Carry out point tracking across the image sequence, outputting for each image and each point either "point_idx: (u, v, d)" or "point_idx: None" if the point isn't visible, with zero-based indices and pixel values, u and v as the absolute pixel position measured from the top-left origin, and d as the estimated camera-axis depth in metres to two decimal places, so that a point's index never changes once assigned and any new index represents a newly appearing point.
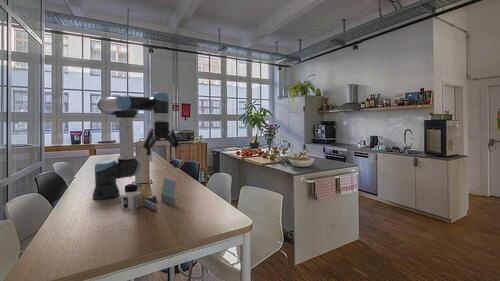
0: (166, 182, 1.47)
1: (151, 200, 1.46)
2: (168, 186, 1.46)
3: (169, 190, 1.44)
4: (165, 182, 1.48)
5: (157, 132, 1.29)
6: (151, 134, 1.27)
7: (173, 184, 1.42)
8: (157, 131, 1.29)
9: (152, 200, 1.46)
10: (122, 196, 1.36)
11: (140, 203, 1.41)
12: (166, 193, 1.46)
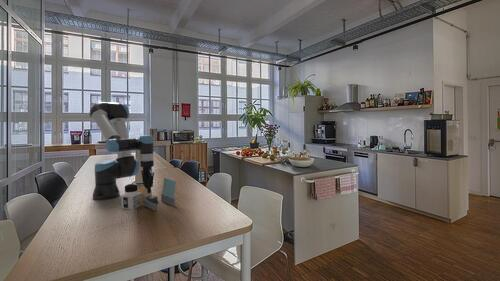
0: (166, 182, 1.47)
1: (152, 201, 1.45)
2: (168, 186, 1.46)
3: (169, 190, 1.44)
4: (165, 182, 1.48)
5: (143, 169, 1.50)
6: (142, 173, 1.52)
7: (173, 184, 1.42)
8: (143, 168, 1.51)
9: (153, 201, 1.45)
10: (122, 196, 1.36)
11: (140, 203, 1.41)
12: (166, 193, 1.46)
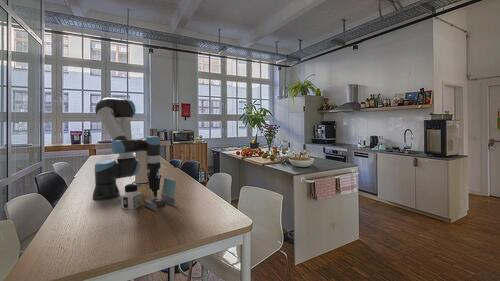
0: (166, 182, 1.47)
1: (158, 204, 1.39)
2: (168, 186, 1.46)
3: (169, 190, 1.44)
4: (165, 182, 1.48)
5: (149, 171, 1.45)
6: (148, 176, 1.46)
7: (173, 184, 1.42)
8: (149, 171, 1.45)
9: (159, 204, 1.40)
10: (122, 196, 1.36)
11: (140, 203, 1.41)
12: (166, 193, 1.46)
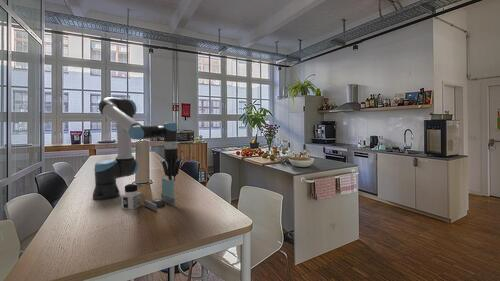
0: (164, 182, 1.47)
1: (158, 204, 1.39)
2: (166, 187, 1.45)
3: (168, 190, 1.44)
4: (163, 182, 1.47)
5: (167, 158, 1.43)
6: (165, 164, 1.42)
7: (171, 184, 1.41)
8: (167, 158, 1.43)
9: (159, 204, 1.40)
10: (122, 196, 1.36)
11: (140, 203, 1.41)
12: (166, 193, 1.46)
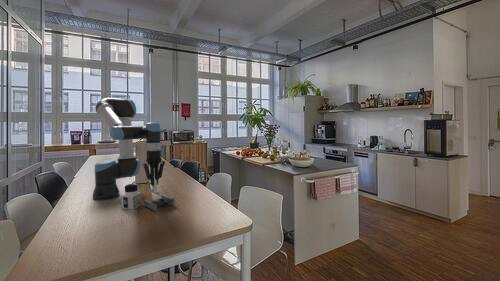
0: (153, 192, 1.42)
1: (158, 204, 1.39)
2: None
3: None
4: (152, 192, 1.42)
5: (149, 161, 1.35)
6: (146, 166, 1.33)
7: None
8: (149, 160, 1.34)
9: (159, 204, 1.40)
10: (122, 196, 1.36)
11: (140, 203, 1.41)
12: None
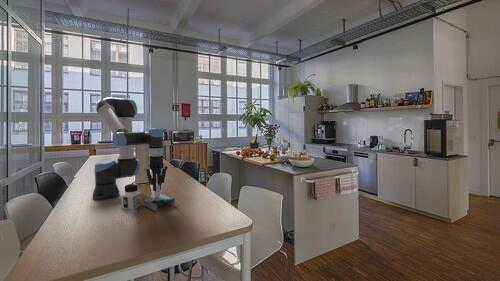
0: None
1: (158, 204, 1.39)
2: None
3: None
4: None
5: (152, 166, 1.36)
6: (149, 172, 1.34)
7: None
8: (151, 165, 1.36)
9: (159, 204, 1.40)
10: (122, 196, 1.36)
11: (140, 203, 1.41)
12: None
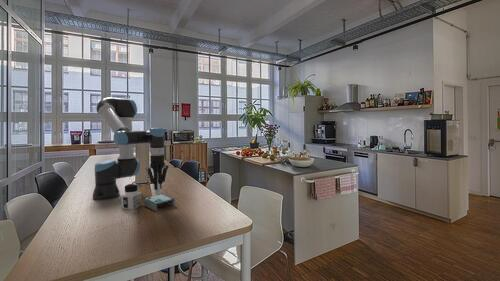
0: None
1: (158, 204, 1.39)
2: None
3: None
4: None
5: (153, 165, 1.37)
6: (150, 171, 1.35)
7: None
8: (152, 165, 1.36)
9: (159, 204, 1.40)
10: (122, 196, 1.36)
11: (140, 203, 1.41)
12: None
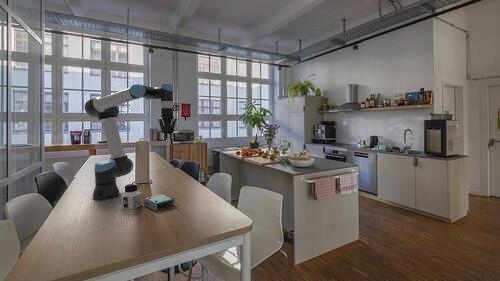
0: None
1: (158, 204, 1.39)
2: None
3: None
4: None
5: (164, 117, 1.57)
6: (161, 121, 1.55)
7: None
8: (163, 116, 1.56)
9: (159, 204, 1.40)
10: (122, 196, 1.36)
11: (140, 203, 1.41)
12: None
